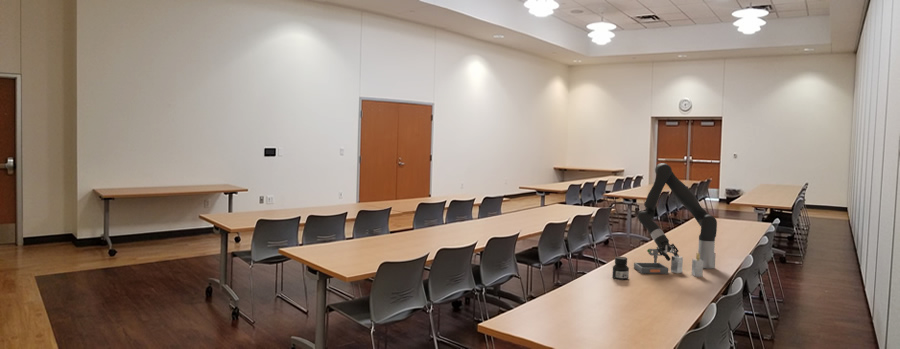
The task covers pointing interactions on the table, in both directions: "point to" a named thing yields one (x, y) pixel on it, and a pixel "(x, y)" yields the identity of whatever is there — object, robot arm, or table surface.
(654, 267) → the tray
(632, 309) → the table surface
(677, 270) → the block
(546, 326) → the table surface
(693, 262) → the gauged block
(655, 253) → the mechanical component
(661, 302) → the table surface
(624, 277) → the ink bottle
